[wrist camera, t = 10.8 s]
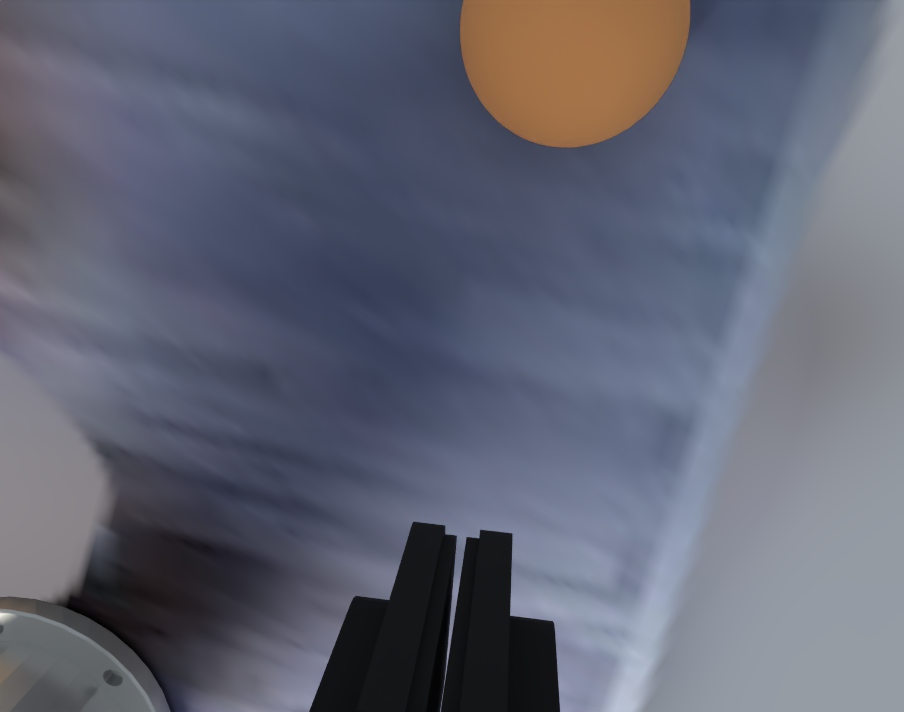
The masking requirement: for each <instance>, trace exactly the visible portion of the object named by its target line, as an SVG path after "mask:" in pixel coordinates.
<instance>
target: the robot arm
mask: <svg viewBox="0 0 904 712" xmlns="http://www.w3.org/2000/svg"><path fill="white" fill-rule="evenodd" d="M456 541H457V536H454V535H446V534H445V526H444V525H436V524H428V523H419V522H413V524H412V526H411V530H410V533H409V536H408V540H407V543H406V546H405V550H404V553H403V556H402V560H401V563H400V566H399V570H398V573H397V576H396V580H395V583H394V586H393V590H392V593H391V596H390V600H383V599H376V598H368V597H360V596H355V597H354V598H353V600H352V602H351V604H350V607H349V609H348V612H347V615H346V617H345V620H344V622H343V625H342V628H341V630H340V633H339V635H338V638H337V641H336V643H335V646H334V648H333V651H332V654H331V656H330V659H329V662H328V664H327V667H326V669H325V672H324V675H323V677H322V680H321V682H320V685H319V688H318V690H317V693H316V695H315V698H314V701H313V703H312V706H311V708H310V711H309V712H440V708H441V712H560V704H559V688H558V672H557V657H556V641H555V628H554V623H553V621H546V620H539V619H531V618H523V617H515V616H510V598H511V566H512V533H503V532H495V531H486V530H480V538H471V537H467V539H466V545H465V552H464V559H463V566H462V572H461V579H460V586H459V592H458V599H457V606H456V612H455V619H454V626H453V633H452V639H451V646H450V653H449V659H448V666H447V673H446V679H445V671H446V660H447V648H448V637H449V625H450V613H451V601H452V589H453V577H454V565H455V553H456ZM444 680H445V686H444ZM443 688H444V693H443ZM442 695H443V700H442ZM441 701H442V707H441ZM0 712H171V711H170V709H169V706H168V704H167V701H166V698H165V696H164V693H163V691H162V689H161V688H160V686H159V684H158V683H157V681H156V679H155V678H154V676H153V675H152V673H151V671H150V670H149V668H148V667H147V666H146V665H145V664H144V663H143V661H142V660H141V659H140V658H139V657H138V656H137V655H136V653H135V652H134V651H133V650H132V649H131V648H130V647H128V646H127V645H126V644H125V643H124V642H123V641H121V640H120V639H119V638H118V637H117V636H115V635H114V634H113V633H112V632H110V631H109V630H107V629H106V628H104V627H102V626H101V625H99V624H98V623H96V622H94V621H93V620H91V619H90V618H88V617H85V616H83V615H81V614H79V613H76V612H74V611H72V610H70V609H67V608H65V607H62V606H59V605H55V604H51V603H47V602H44V601H40V600H36V599H27V598H18V597H0Z"/></svg>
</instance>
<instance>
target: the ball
mask: <svg viewBox="0 0 904 712" xmlns="http://www.w3.org/2000/svg"><path fill="white" fill-rule="evenodd" d="M689 27H690V0H463V4H462V11H461V18H460V43H461V51H462V58H463V62H464V65H465V69H466V73H467V76H468V78H469V80H470V83H471V85H472V88H473V89H474V91H475V93H476V95H477V96H478V98H479V100H480V101H481V103H482V104H483V106H484V107H485V108H486V109H487V111H488V112H489V113H490V114H491V115H492V116H493V117H494V118H495V119H496V120H497V121H498V122H499V123H500V124H501V125H503V126H504V127H505V128H507V129H508V130H510V131H511V132H513V133H514V134H516V135H518V136H519V137H522V138H524V139H526V140H528V141H531V142H534V143H537V144H541V145H545V146H550V147H564V148H573V147H581V146H586V145H591V144H596V143H599V142H602V141H604V140H607V139H609V138H612V137H614V136H616V135H618V134H620V133H621V132H623V131H625V130H627V129H628V128H630V127H631V126H632V125H634V124H635V123H636V122H637V121H639V120H640V119H641V118H642V117H644V116H645V115H646V114H647V113H648V112H649V111H650V110H651V109H652V108H653V107H654V106H655V105H656V103H657V102H658V101H659V99H660V98H661V97H662V95H663V94H664V93H665V91H666V90H667V89H668V87H669V85H670V84H671V82H672V80H673V78H674V76H675V75H676V73H677V70H678V68H679V65H680V63H681V60H682V58H683V55H684V51H685V48H686V44H687V40H688V35H689Z"/></svg>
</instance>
